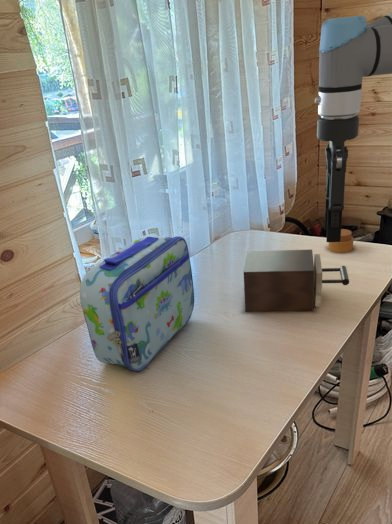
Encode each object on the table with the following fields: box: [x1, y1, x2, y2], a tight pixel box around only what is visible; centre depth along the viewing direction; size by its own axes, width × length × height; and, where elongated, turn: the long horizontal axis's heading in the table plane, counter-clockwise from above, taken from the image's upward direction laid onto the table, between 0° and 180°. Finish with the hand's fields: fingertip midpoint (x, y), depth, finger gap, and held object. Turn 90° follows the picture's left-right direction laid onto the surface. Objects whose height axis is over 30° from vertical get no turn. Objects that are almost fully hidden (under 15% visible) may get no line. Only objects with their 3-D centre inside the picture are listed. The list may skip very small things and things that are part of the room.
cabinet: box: [243, 249, 314, 313], centre depth 115 cm, size 15×12×10 cm
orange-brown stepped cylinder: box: [328, 228, 354, 254], centre depth 138 cm, size 6×6×4 cm
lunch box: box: [79, 234, 195, 372], centre depth 100 cm, size 26×11×21 cm, turn 150°
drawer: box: [313, 253, 350, 307], centre depth 114 cm, size 19×10×8 cm, turn 81°
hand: (332, 235), depth 107 cm, fingers open, 6 cm apart
